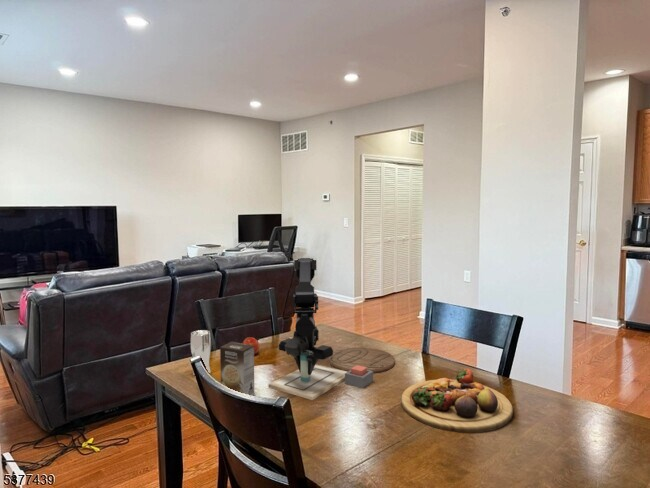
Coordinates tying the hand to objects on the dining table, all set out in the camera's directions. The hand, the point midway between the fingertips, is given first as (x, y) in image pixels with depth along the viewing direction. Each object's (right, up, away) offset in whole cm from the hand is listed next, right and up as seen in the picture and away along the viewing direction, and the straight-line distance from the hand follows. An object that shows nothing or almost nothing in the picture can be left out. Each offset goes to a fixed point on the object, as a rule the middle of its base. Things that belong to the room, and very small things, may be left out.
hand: (305, 373), depth 150 cm
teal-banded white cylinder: (0, -2, 0) cm, 2 cm away
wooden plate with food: (+45, -6, -16) cm, 48 cm away
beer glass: (-38, -3, +11) cm, 39 cm away
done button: (+18, -2, +2) cm, 18 cm away
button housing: (+18, -4, +2) cm, 19 cm away
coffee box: (-21, -5, -7) cm, 23 cm away
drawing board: (+2, -4, +3) cm, 5 cm away
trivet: (+21, -2, +22) cm, 30 cm away
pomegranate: (-24, -2, +31) cm, 39 cm away
